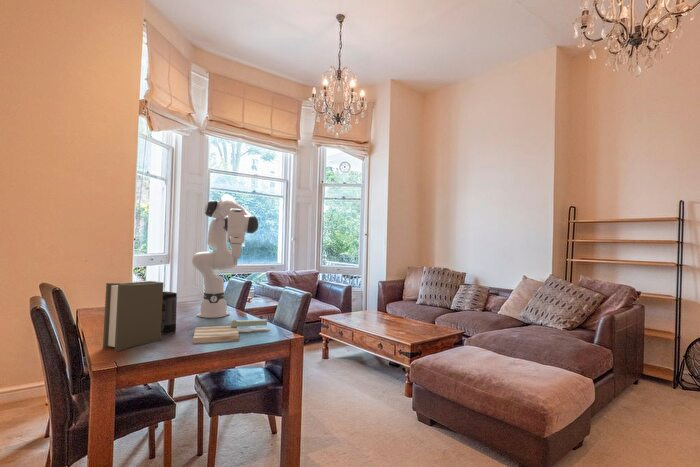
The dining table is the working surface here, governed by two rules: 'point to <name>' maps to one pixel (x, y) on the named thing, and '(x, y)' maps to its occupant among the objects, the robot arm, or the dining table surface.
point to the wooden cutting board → (220, 333)
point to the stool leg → (248, 323)
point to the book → (132, 314)
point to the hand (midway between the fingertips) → (235, 265)
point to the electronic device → (168, 313)
